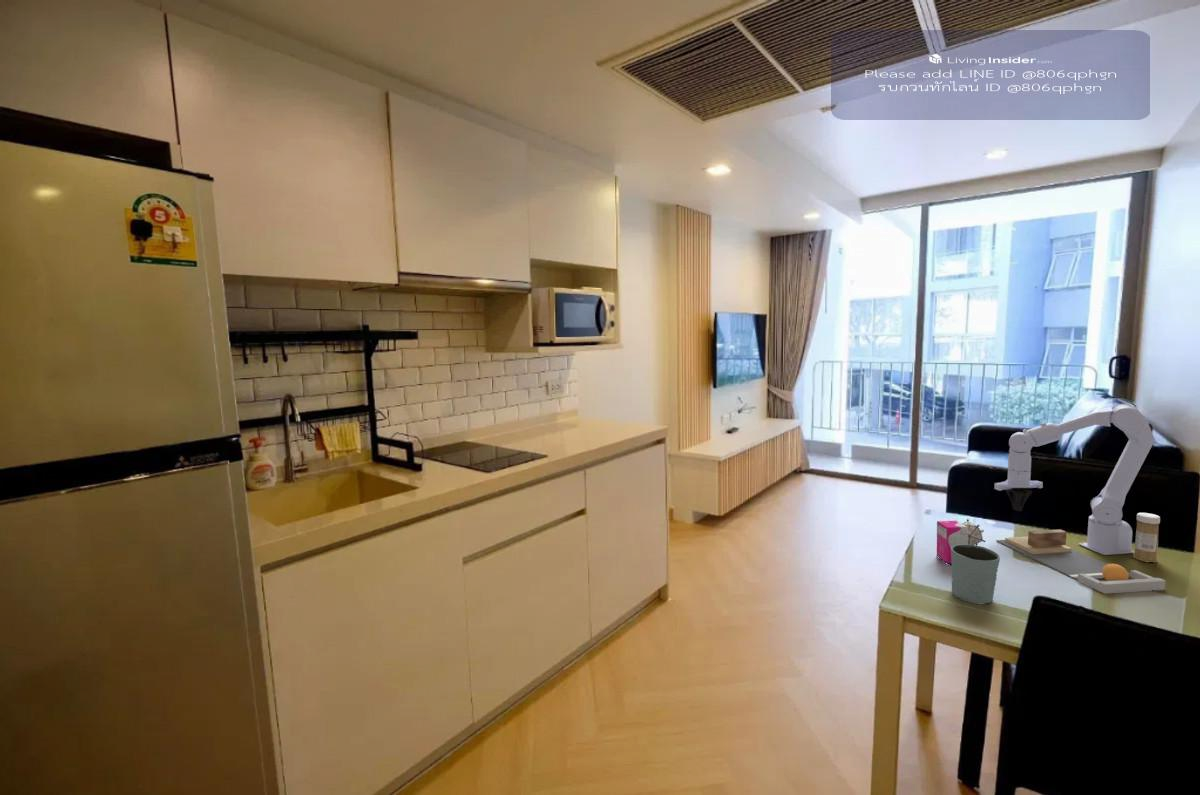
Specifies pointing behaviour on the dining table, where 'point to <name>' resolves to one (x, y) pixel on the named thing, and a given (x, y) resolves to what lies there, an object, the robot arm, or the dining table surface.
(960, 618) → the dining table surface
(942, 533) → the supplement box
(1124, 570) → the ball
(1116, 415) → the robot arm
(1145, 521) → the sprinkles bottle
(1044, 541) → the pusher bar
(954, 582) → the grey-green plant pot
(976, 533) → the game die
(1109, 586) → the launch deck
